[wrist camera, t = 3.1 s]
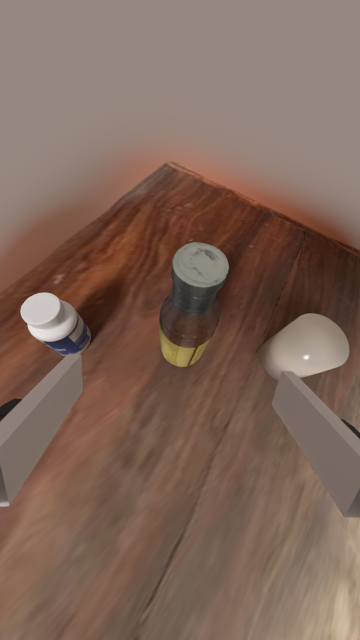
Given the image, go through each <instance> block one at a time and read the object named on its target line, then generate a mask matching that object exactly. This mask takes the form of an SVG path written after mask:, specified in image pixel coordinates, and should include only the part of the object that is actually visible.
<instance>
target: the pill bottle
mask: <svg viewBox="0 0 360 640" xmlns="http://www.w3.org/2000/svg"><path fill="white" fill-rule="evenodd" d="M21 316H22V318H23V320H24V321H26V322H27V323H28V329H29V331H30V332H31V334H32V335H33V336H34V337H36V338H37V339H38V340H40V341H41V342H43V343H44V344H45V345H47V346H48V347H50V348H51V349H53V350H54V351H56V352H57V353H59V354H61V355H64V356H67V355H68V354H79V353H81V352H82V351H84V350H85V349H86V348H87V346H88V345H89V343H90V339H91V333H90V330H89V328H88V327H87V325H86V324H85V323H84V321H83V320H82V318H81V317H80V316H79V314H78V313H77V312H76V310H75V309H74V308H73V307H72V306H71V305H70V304H69V303H67V302H65V301H62V300H59V299H58V297H56V296H55V295H53V294H51V293H38V294H35V295H33V296H31V297H29V298H28V299H27V300H26V301H25V302H24V303H23V305H22V307H21Z"/></svg>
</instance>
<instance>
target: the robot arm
mask: <svg viewBox="0 0 360 640" xmlns="http://www.w3.org/2000/svg"><path fill="white" fill-rule="evenodd" d="M82 392H83V384H82V360H81V355H80V354H68V355H67V356H66V357H65V358H64V359H63V360H62V361H61V362H60V363H59V364H58V365H57V366H56V367H55V368H54V369H53V370H52V371H51V372H50V373H49V374H48V375H47V376H46V377H45V378H44V379H43V380H42V381H41V382H40V383H39V384H38V385H37V386H36V387H35V388H34V389H33V390H32V391H31V392H30V393H29V394H28V395H27V396H26V397H25V398H24V399H15V398H14V399H13V400H11V401H9V402H7V403H6V404H4V405H2V406H1V407H0V506H10V505H11V503H12V502H13V500H14V499H15V497H16V495H17V494H18V492H19V491H20V489H21V488H22V486H23V484H24V483H25V481H26V480H27V478H28V477H29V475H30V473H31V472H32V470H33V469H34V467H35V466H36V464H37V462H38V461H39V459H40V458H41V456H42V455H43V453H44V451H45V450H46V448H47V447H48V445H49V444H50V442H51V440H52V439H53V437H54V436H55V434H56V433H57V431H58V429H59V428H60V426H61V425H62V423H63V422H64V420H65V418H66V417H67V415H68V414H69V412H70V411H71V409H72V407H73V406H74V404H75V403H76V401H77V400H78V398H79V396H80V395H81V393H82ZM272 406H273V407H274V409H275V410H276V412H277V413H278V415H279V417H280V418H281V420H282V421H283V423H284V424H285V426H286V427H287V429H288V431H289V432H290V434H291V435H292V437H293V438H294V440H295V441H296V443H297V444H298V446H299V448H300V449H301V451H302V452H303V454H304V455H305V457H306V458H307V460H308V462H309V463H310V465H311V466H312V468H313V469H314V471H315V472H316V474H317V475H318V477H319V479H320V480H321V482H322V483H323V485H324V486H325V488H326V489H327V491H328V493H329V494H330V496H331V497H332V499H333V500H334V502H335V503H336V505H337V506H338V508H339V510H340V511H341V513H342V514H343V516H344V517H360V433H359V432H358V431H357V430H356V429H355V428H354V427H353V426H352V425H350V424H349V423H347V422H346V421H344V420H343V419H339V418H338V417H337V416H336V415H335V414H334V413H333V412H332V411H331V410H330V409H329V408H328V407H327V406H326V405H325V404H324V403H323V402H322V401H321V400H320V399H319V398H318V397H317V396H316V395H315V394H314V393H313V392H312V391H311V390H310V389H309V388H308V387H307V386H306V385H305V383H304V382H303V381H302V380H301V379H300V378H299V377H298V376H297V375H296V374H295V373H294V372H293V371H281V374H280V378H279V381H278V384H277V388H276V391H275V394H274V398H273V401H272Z"/></svg>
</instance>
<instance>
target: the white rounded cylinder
mask: <svg viewBox="0 0 360 640" xmlns="http://www.w3.org/2000/svg"><path fill="white" fill-rule="evenodd" d="M348 356H349V344H348V341H347V338H346V336H345V334H344V333H343V331H342V330H341V329H340V328H339V326H338V325H337V324H335V323H334V322H333V321H332V320H330V319H328V318H327V317H325V316H322V315H319V314H314V313H309V314H304V315H301V316H300V317H298V318H297V319H295V320H294V321H293V322H291V323H290V324H289V325H287V326H286V327H285V328H283V329H282V330H281V331H279V332H278V333H277V334H275V335H274V336H273V337H271V338H270V339H268V340H267V341H266V342H265V343H264V344H263V345H262V346H261V348H260V352H259V358H260V362H261V365H262V367H263V369H264V370H265V371H266V373H267V374H268V375H270V376H271V377H272V378H274V379H276V380H278V381H279V378H280V374H281V371H293V372H294V373H295V374H296V375H297V376H298V377H299V378H303V377H307V376H310V375H313V374H316V373H320V372H323V371H326V370H329V369H333V368H336V367H339V366H341V365H342V364H344V363H345V362H346V360H347V358H348Z"/></svg>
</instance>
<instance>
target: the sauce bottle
mask: <svg viewBox="0 0 360 640" xmlns="http://www.w3.org/2000/svg"><path fill="white" fill-rule="evenodd" d="M228 271H229V263H228V260H227V258H226V256H225V255H224V254H223V252H221V250H219V249H217V248H216V247H214V246H211V245H208V244H204V243H196V242H194V243H189V244H187V245H184V246H183V247H181V248H180V249H179V250H177V252H176V253H175V255H174V257H173V261H172V269H171V276H172V279H173V287H172V291H171V293H170V295H169V296H168V297H167V298H166V299H165V301H164V303H163V305H162V307H161V311H160V340H161V350H162V354H163V356H164V357H165V359H166V360H167V361H168V362H169V363H170V364H171V365H173V366H176V367H189V366H191V365H193V364H194V363H195V362H196V361H198V359H199V358H200V357H201V355H202V353H203V352H204V350H205V348H206V346H207V344H208V343H209V341H210V339H211V337H212V335H213V333H214V331H215V328H216V326H217V325H218V321H219V307H220V303H219V301H218V300H217V297H216V296H217V292H218V291H219V290H220V289H221V288H222V287H223V285H224V284H225V282H226V279H227V276H228Z"/></svg>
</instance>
